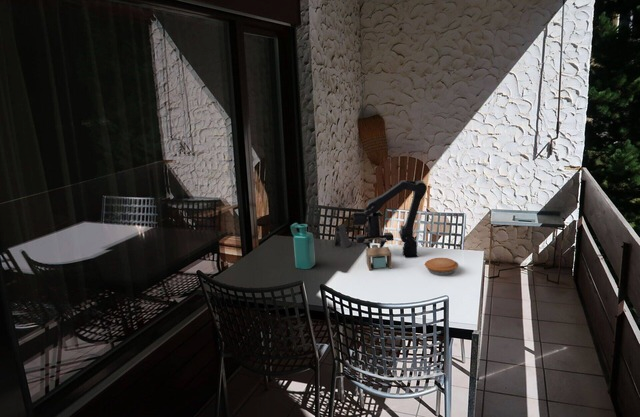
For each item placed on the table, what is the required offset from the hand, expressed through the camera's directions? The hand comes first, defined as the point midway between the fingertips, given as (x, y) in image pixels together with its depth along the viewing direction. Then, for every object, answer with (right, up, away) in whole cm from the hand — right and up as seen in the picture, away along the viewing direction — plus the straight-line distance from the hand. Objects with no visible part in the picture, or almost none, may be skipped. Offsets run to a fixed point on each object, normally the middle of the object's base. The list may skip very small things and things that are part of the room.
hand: (375, 253), depth 268 cm
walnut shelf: (+1, -5, -13) cm, 14 cm away
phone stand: (-17, +2, +22) cm, 28 cm away
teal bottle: (-37, -6, -5) cm, 37 cm away
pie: (+29, -7, -24) cm, 38 cm away
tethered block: (0, -4, -7) cm, 7 cm away
